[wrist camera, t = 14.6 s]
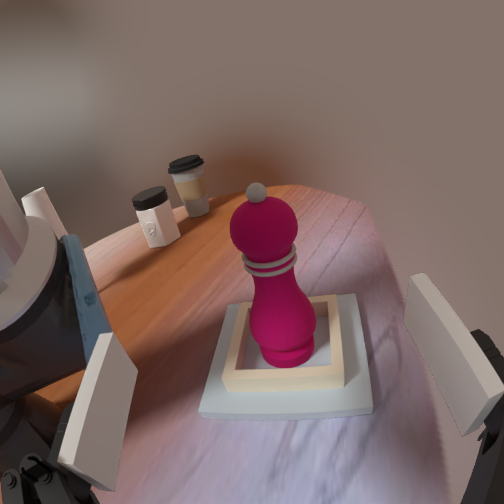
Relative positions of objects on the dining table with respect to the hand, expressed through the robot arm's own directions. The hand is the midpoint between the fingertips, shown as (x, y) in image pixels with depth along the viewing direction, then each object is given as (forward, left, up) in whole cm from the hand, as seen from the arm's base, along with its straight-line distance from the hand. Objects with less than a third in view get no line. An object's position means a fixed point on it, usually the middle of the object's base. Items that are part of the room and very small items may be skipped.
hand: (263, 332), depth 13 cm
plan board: (-10, +13, -20) cm, 26 cm away
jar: (-55, +29, -20) cm, 65 cm away
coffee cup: (-57, +43, -20) cm, 74 cm away
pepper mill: (-10, +13, -19) cm, 25 cm away
